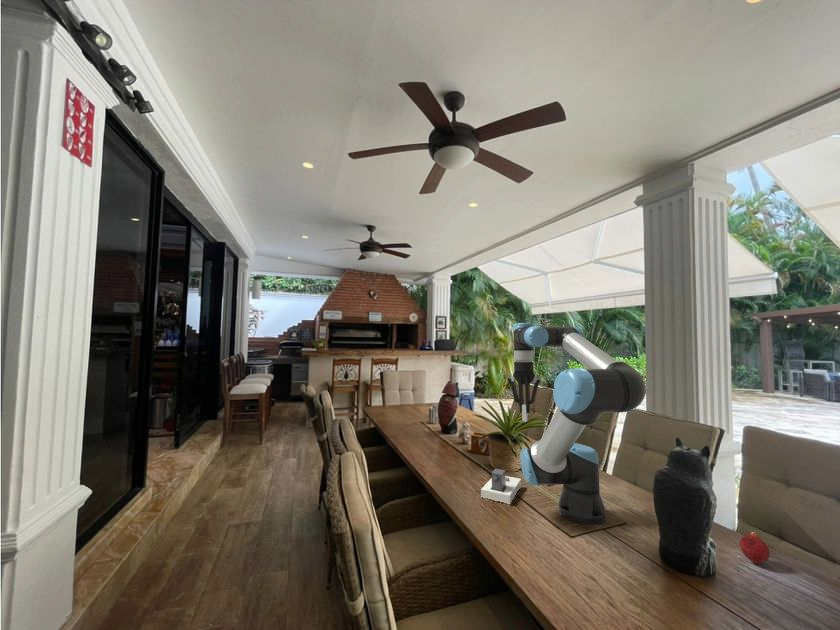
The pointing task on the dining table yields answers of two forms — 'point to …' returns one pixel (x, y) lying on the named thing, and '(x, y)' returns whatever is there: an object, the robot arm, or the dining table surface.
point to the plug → (498, 480)
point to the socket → (505, 496)
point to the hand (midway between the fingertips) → (525, 420)
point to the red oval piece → (754, 548)
